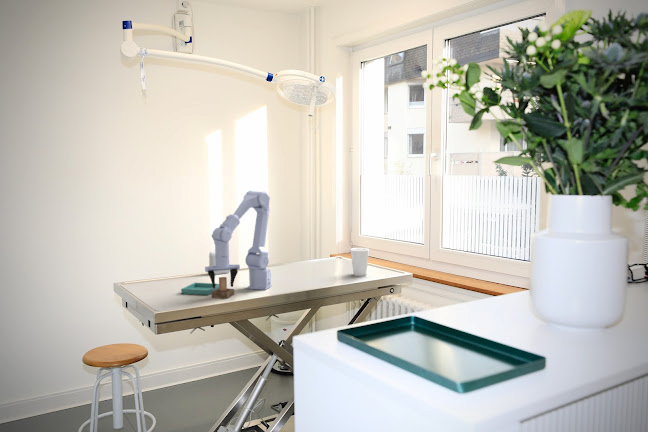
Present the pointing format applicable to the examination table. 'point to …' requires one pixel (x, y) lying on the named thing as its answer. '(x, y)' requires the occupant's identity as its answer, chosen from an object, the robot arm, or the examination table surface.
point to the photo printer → (213, 263)
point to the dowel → (223, 284)
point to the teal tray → (199, 289)
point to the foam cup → (359, 260)
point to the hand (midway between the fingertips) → (222, 287)
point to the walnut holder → (222, 293)
